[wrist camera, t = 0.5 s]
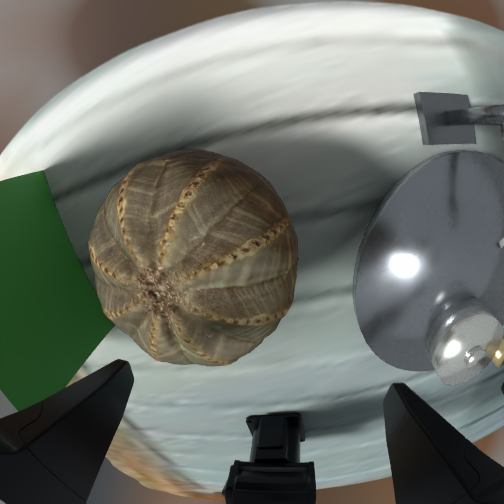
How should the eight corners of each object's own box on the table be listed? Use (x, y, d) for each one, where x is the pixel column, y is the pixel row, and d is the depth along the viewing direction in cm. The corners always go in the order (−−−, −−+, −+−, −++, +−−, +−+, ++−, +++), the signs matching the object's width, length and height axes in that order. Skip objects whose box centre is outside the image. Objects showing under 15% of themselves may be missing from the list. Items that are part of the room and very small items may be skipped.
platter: (507, 333, 20) (529, 359, 15) (353, 382, 24) (362, 423, 19) (528, 150, 14) (566, 158, 9) (337, 161, 17) (358, 166, 12)
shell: (319, 248, 21) (352, 356, 10) (202, 306, 24) (152, 416, 13) (243, 120, 18) (190, 83, 7) (130, 201, 21) (20, 254, 10)
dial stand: (472, 178, 17) (551, 204, 8) (427, 182, 18) (507, 212, 9) (460, 96, 15) (539, 85, 6) (413, 94, 16) (490, 71, 7)
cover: (475, 349, 20) (493, 376, 16) (419, 368, 21) (434, 400, 17) (490, 290, 18) (516, 314, 14) (430, 308, 19) (453, 340, 15)
